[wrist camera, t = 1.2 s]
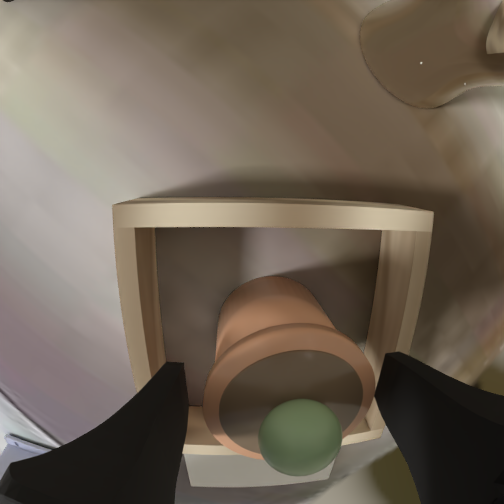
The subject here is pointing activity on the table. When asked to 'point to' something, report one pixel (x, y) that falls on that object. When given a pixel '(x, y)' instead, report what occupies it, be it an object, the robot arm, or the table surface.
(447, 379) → the robot arm
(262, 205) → the frame
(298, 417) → the terracotta pot
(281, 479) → the grey mat
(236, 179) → the table surface
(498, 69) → the silver drink can
